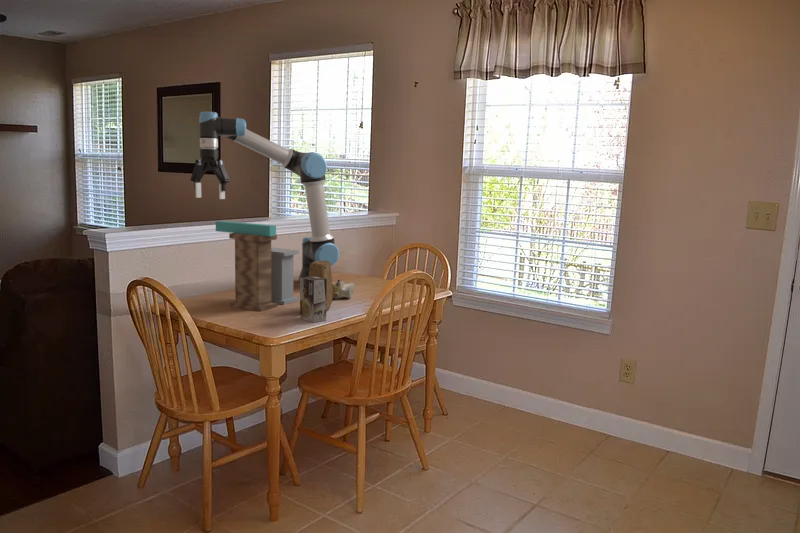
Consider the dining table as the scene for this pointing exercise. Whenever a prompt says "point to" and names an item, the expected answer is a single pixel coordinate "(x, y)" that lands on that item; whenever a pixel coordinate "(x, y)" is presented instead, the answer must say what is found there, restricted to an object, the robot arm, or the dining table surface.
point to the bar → (246, 228)
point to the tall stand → (252, 271)
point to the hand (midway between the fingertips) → (210, 198)
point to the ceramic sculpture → (342, 290)
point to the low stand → (282, 276)
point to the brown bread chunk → (323, 271)
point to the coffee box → (313, 298)
